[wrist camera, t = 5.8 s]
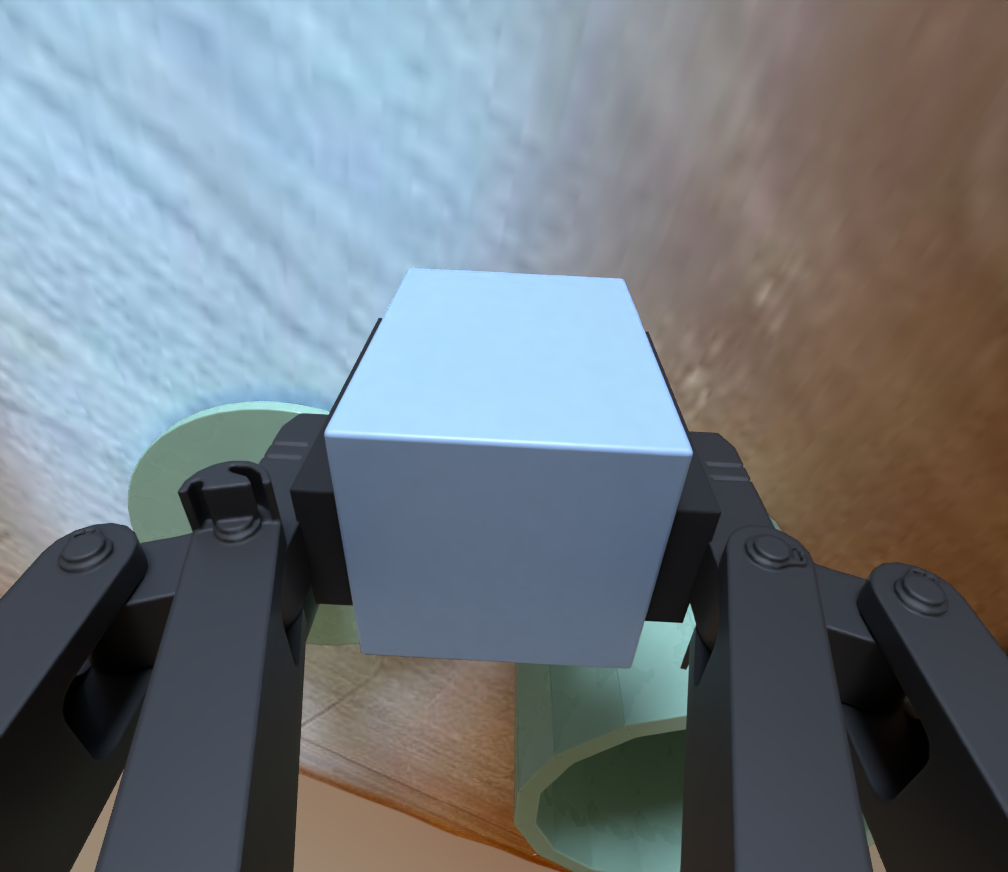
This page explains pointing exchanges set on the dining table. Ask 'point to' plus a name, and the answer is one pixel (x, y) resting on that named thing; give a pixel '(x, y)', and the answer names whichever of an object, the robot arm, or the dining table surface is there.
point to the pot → (606, 757)
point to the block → (506, 471)
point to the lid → (211, 442)
